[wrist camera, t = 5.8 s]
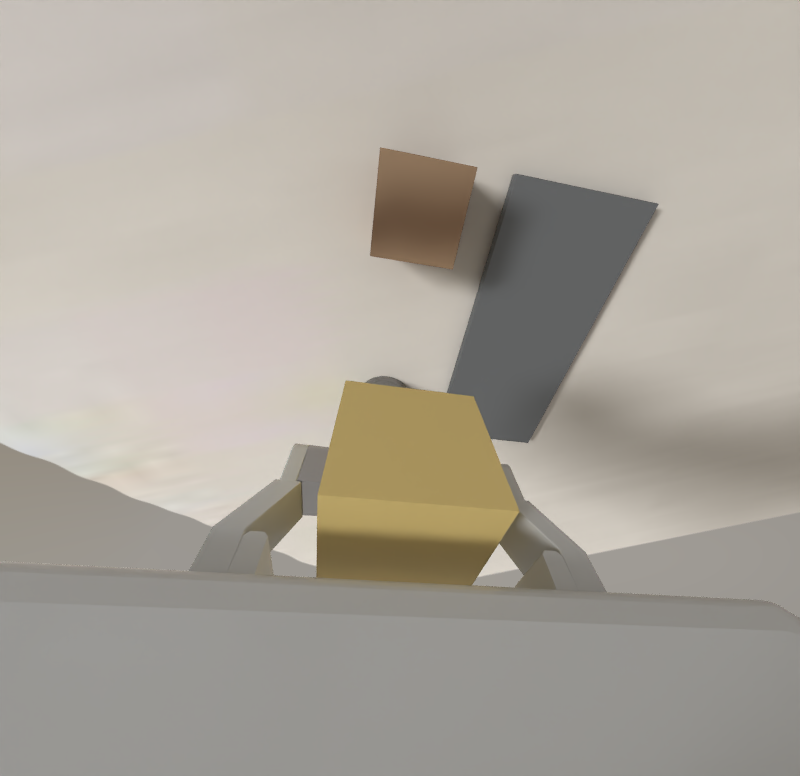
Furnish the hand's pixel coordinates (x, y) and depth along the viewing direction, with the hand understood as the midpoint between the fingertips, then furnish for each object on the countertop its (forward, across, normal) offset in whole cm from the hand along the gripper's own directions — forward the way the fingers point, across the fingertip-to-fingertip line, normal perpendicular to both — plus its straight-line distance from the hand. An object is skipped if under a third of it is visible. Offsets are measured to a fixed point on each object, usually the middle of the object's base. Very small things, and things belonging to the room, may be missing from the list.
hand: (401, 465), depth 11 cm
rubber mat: (+16, -11, 0) cm, 19 cm away
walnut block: (+16, 0, -8) cm, 18 cm away
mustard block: (+2, 0, 0) cm, 2 cm away
